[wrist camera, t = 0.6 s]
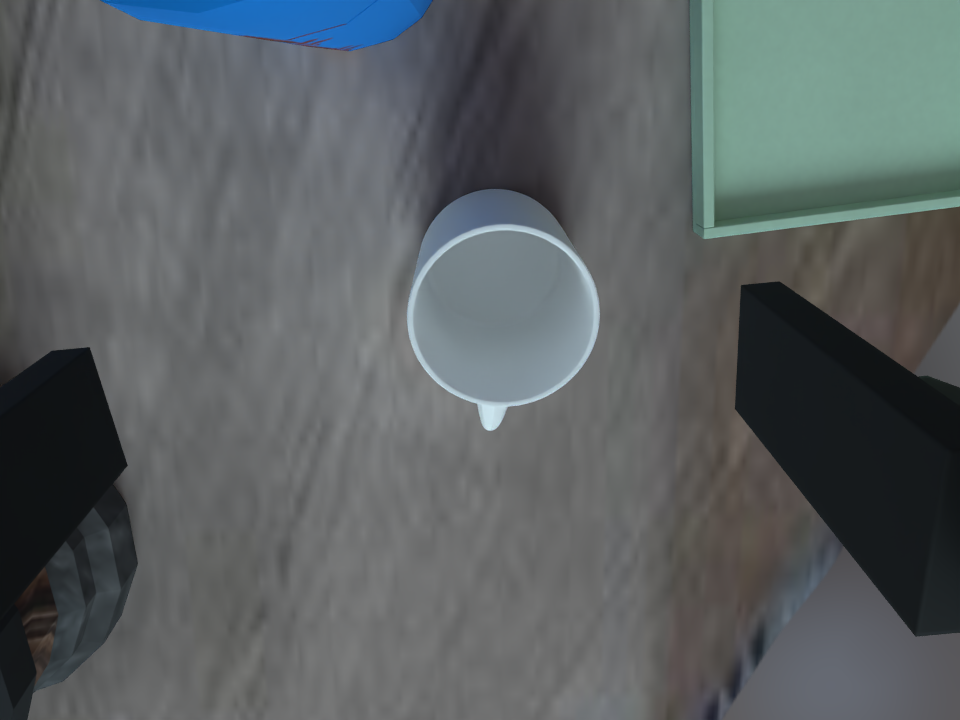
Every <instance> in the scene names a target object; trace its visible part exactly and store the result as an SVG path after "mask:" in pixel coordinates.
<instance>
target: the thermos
mask: <svg viewBox="0 0 960 720" xmlns="http://www.w3.org/2000/svg"><path fill="white" fill-rule="evenodd" d="M100 1H103V2H105V3H107V4H109V5H111V6H113V7H115V8H117V9H119V10H121V11H123V12H125V13H127V14H129V15H131V16H133V17H135V18H137V19H139V20H144V21H150V22H156V23H163V24H169V25H175V26H182V27H188V28H194V29H201V30H207V31H213V32H220V33H226V34H232V35H239V36H245V37H251V38H258V39H264V40H270V41H277V42H283V43H289V44H296V45H302V46H308V47H317V48H326V49H335V50H344V51H353V50H356V49H360V48H364V47H367V46H371V45H375V44H378V43H382V42H386V41H389V40H393V39H394V38H396V37H397V36H398V35H400V34H401V33H402V32H404V31H405V30H406V29H408V28H409V27H410V26H412V25H413V24H414V23H416V22H417V21H418V20H419V19H421V18H422V17H423V15H424V13H425V12H426V10H427V9H428V7H429V5H430V4H431V2H432V1H433V0H100Z"/></svg>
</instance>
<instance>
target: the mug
mask: <svg viewBox="0 0 960 720" xmlns="http://www.w3.org/2000/svg"><path fill="white" fill-rule="evenodd" d="M599 322H600V304H599V297H598V292H597V288H596V286H595V283H594V280H593V277H592V275H591V274H590V272H589V270H588V268H587V266H586V265H585V263H584V261H583V260H582V258H581V257H580V255H579V254H578V252H577V250H576V249H575V247H574V246H573V244H572V243H571V241H570V239H569V238H568V236H567V235H566V233H565V232H564V230H563V228H562V227H561V225H560V224H559V223H558V221H557V220H556V219H555V217H554V216H553V215H552V214H551V213H550V212H549V211H548V210H547V209H546V208H545V207H544V206H542V205H541V204H540V203H539V202H537V201H536V200H534V199H532V198H530V197H528V196H526V195H524V194H521V193H518V192H515V191H511V190H505V189H486V190H479V191H476V192H472V193H469V194H467V195H464V196H462V197H460V198H458V199H456V200H455V201H453V202H452V203H450V204H449V205H448V206H446V207H445V208H444V209H443V210H442V211H441V212H440V213H439V214H438V215H437V216H436V218H435V219H434V220H433V222H432V223H431V225H430V226H429V228H428V230H427V232H426V234H425V236H424V239H423V241H422V244H421V248H420V252H419V256H418V261H417V265H416V269H415V274H414V278H413V283H412V287H411V291H410V296H409V300H408V308H407V326H408V332H409V338H410V341H411V344H412V347H413V350H414V352H415V354H416V356H417V358H418V360H419V361H420V363H421V365H422V366H423V368H424V369H425V370H426V371H427V373H428V374H429V375H430V376H431V377H432V378H433V379H434V380H435V381H436V382H437V383H438V384H439V385H440V386H442V387H443V388H445V389H446V390H448V391H449V392H450V393H452V394H454V395H456V396H458V397H460V398H462V399H465V400H467V401H470V402H473V403H477V405H478V410H479V415H480V419H481V423H482V425H483V427H484V428H485V429H486V430H489V431H491V430H494V429H496V428H497V427H498V426H499V424H500V423H501V421H502V419H503V417H504V415H505V412H506V410H507V407H508V406H516V405H522V404H526V403H530V402H533V401H536V400H539V399H542V398H544V397H546V396H548V395H550V394H551V393H553V392H555V391H556V390H558V389H559V388H561V387H562V386H564V385H565V384H566V383H567V382H568V381H569V380H570V379H572V378H573V377H574V375H575V374H576V373H577V372H578V371H579V370H580V369H581V367H582V366H583V364H584V363H585V361H586V360H587V358H588V356H589V355H590V353H591V351H592V349H593V346H594V343H595V340H596V338H597V333H598V329H599Z"/></svg>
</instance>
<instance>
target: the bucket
mask: <svg viewBox="0 0 960 720" xmlns="http://www.w3.org/2000/svg"><path fill="white" fill-rule="evenodd" d="M137 564H138V563H137V558H136V553H135V547H134V542H133V537H132V532H131V526H130V521H129V516H128V511H127V505H126V503H125V502H124V500H123V499H122V498H121V496H120V495H119V493H118V492H117V490H116V489H115V487H114V486H113V484H112V485H111V486H110V488H109V489H108V490H107V491H106V492H105V494H104V495H103V496H102V497H101V499H100V500H99V501H98V502H97V503H96V505H95V506H94V507H93V508H92V510H91V511H90V512H89V513H88V514H87V516H86V517H85V518H84V519H83V521H82V522H81V523H80V524H79V525H78V527H77V528H76V529H75V530H74V532H73V533H72V534H71V535H70V536H69V538H68V539H67V540H66V541H65V542H64V544H63V545H62V546H61V547H60V549H59V550H58V551H57V552H56V553H55V555H54V556H53V557H52V558H51V560H50V561H49V562H48V563H47V564H46V566H45V567H44V568H43V569H42V571H41V572H40V573H39V574H38V575H37V577H36V578H35V579H34V580H33V582H32V583H31V584H30V585H29V586H28V588H27V589H26V590H25V591H24V593H23V594H22V595H21V596H20V597H19V599H18V600H17V601H16V602H15V604H14V605H13V606H12V607H11V608H10V610H9V611H8V612H7V613H6V614H5V616H4V617H3V618H2V619H1V621H0V720H27V718H28V714H29V709H30V704H31V699H32V694H33V693H34V692H35V691H36V690H39V689H42V688H45V687H48V686H51V685H54V684H57V683H59V682H62V681H64V680H65V679H66V678H67V677H68V676H69V675H70V674H71V673H73V672H74V671H75V670H76V669H77V668H78V667H79V666H80V665H81V664H82V663H83V662H84V661H85V660H86V659H87V658H88V657H90V656H91V655H92V654H93V653H94V652H95V651H96V650H97V649H98V648H99V647H100V646H101V645H102V644H103V643H104V642H105V641H106V639H107V637H108V636H109V634H110V633H111V631H112V629H113V628H114V626H115V625H116V623H117V621H118V620H119V618H120V617H121V615H122V612H123V609H124V605H125V602H126V599H127V596H128V593H129V590H130V587H131V583H132V580H133V577H134V574H135V571H136V568H137Z"/></svg>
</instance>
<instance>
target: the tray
mask: <svg viewBox="0 0 960 720" xmlns="http://www.w3.org/2000/svg"><path fill="white" fill-rule="evenodd" d="M690 66H691V135H692V203H693V231H694V232H695V233H696V234H698V235H699V236H701V237H702V238H704V239H708V238H716V237H724V236H731V235H739V234H747V233H755V232H763V231H771V230H778V229H786V228H794V227H802V226H810V225H818V224H825V223H833V222H841V221H849V220H857V219H865V218H872V217H880V216H888V215H896V214H904V213H912V212H919V211H927V210H935V209H943V208H951V207H959V206H960V0H690Z"/></svg>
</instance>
